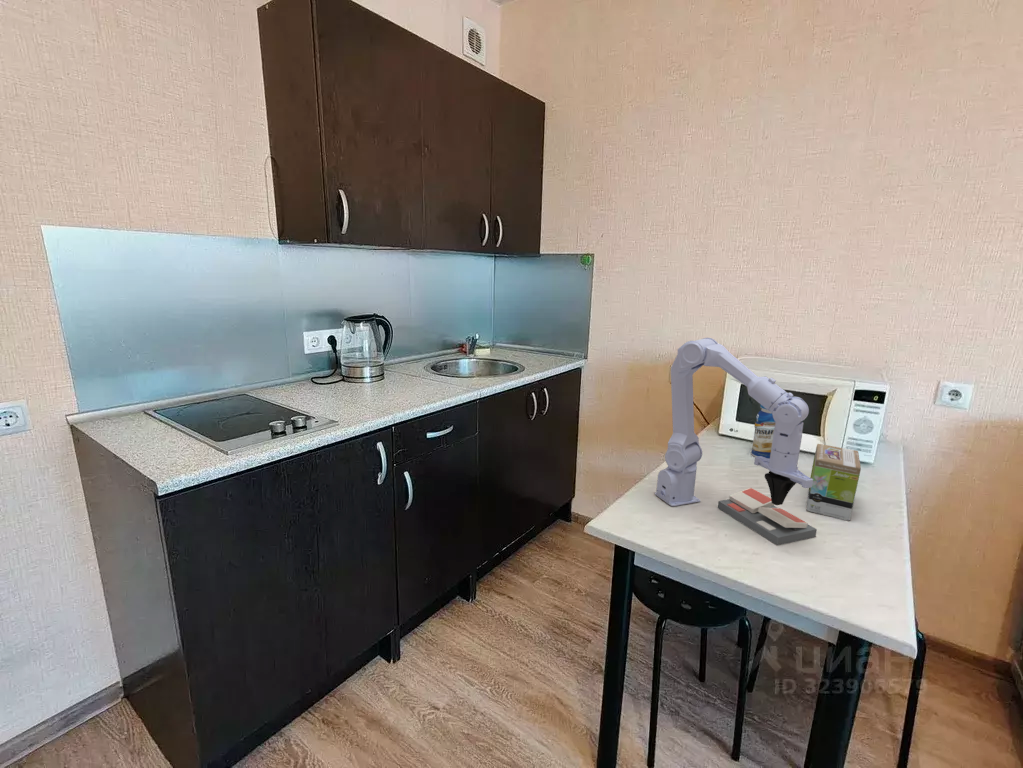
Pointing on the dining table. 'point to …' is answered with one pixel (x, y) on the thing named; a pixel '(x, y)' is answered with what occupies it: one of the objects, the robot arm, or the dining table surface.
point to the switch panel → (766, 524)
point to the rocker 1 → (751, 500)
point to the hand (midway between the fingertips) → (777, 503)
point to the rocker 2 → (783, 517)
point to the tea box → (834, 481)
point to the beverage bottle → (763, 433)
